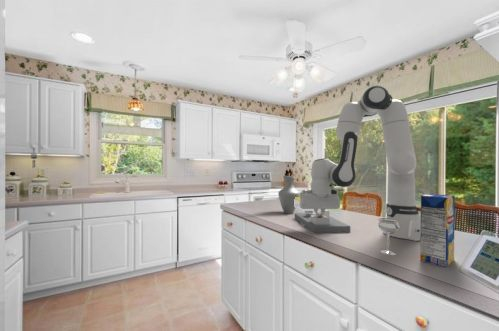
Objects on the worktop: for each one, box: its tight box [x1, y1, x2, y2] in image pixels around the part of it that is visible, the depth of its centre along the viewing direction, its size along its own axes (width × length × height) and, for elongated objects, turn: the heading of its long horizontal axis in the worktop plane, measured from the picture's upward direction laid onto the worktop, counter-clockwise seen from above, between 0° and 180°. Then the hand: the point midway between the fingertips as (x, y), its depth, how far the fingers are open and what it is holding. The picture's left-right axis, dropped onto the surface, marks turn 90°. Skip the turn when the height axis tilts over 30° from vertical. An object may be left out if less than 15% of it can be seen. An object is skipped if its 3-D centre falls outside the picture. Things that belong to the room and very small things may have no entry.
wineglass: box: [377, 217, 399, 256], centre depth 88 cm, size 7×7×12 cm
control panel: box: [294, 212, 351, 234], centre depth 130 cm, size 18×32×6 cm, turn 6°
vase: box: [277, 175, 300, 214], centre depth 163 cm, size 14×14×25 cm
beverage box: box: [419, 193, 456, 268], centre depth 81 cm, size 7×11×22 cm, turn 129°
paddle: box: [323, 209, 330, 218], centre depth 131 cm, size 4×2×4 cm, turn 96°
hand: (319, 217), depth 121 cm, fingers closed, pressing on push button
